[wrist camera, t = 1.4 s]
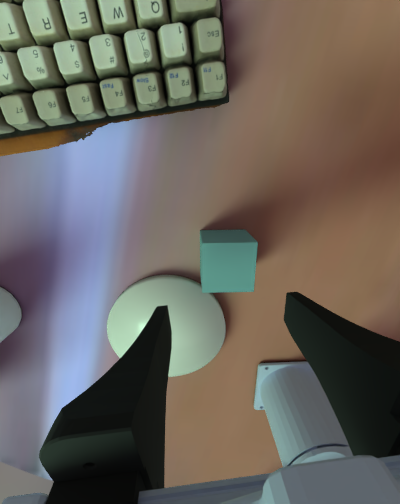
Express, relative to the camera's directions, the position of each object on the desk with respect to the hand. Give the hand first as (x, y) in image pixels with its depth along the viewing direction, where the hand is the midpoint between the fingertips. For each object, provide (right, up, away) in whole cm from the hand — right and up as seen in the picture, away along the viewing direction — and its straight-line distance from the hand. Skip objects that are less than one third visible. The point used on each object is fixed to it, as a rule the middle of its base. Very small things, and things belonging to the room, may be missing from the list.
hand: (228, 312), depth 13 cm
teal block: (+1, +4, +9) cm, 10 cm away
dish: (-5, -5, +12) cm, 14 cm away
